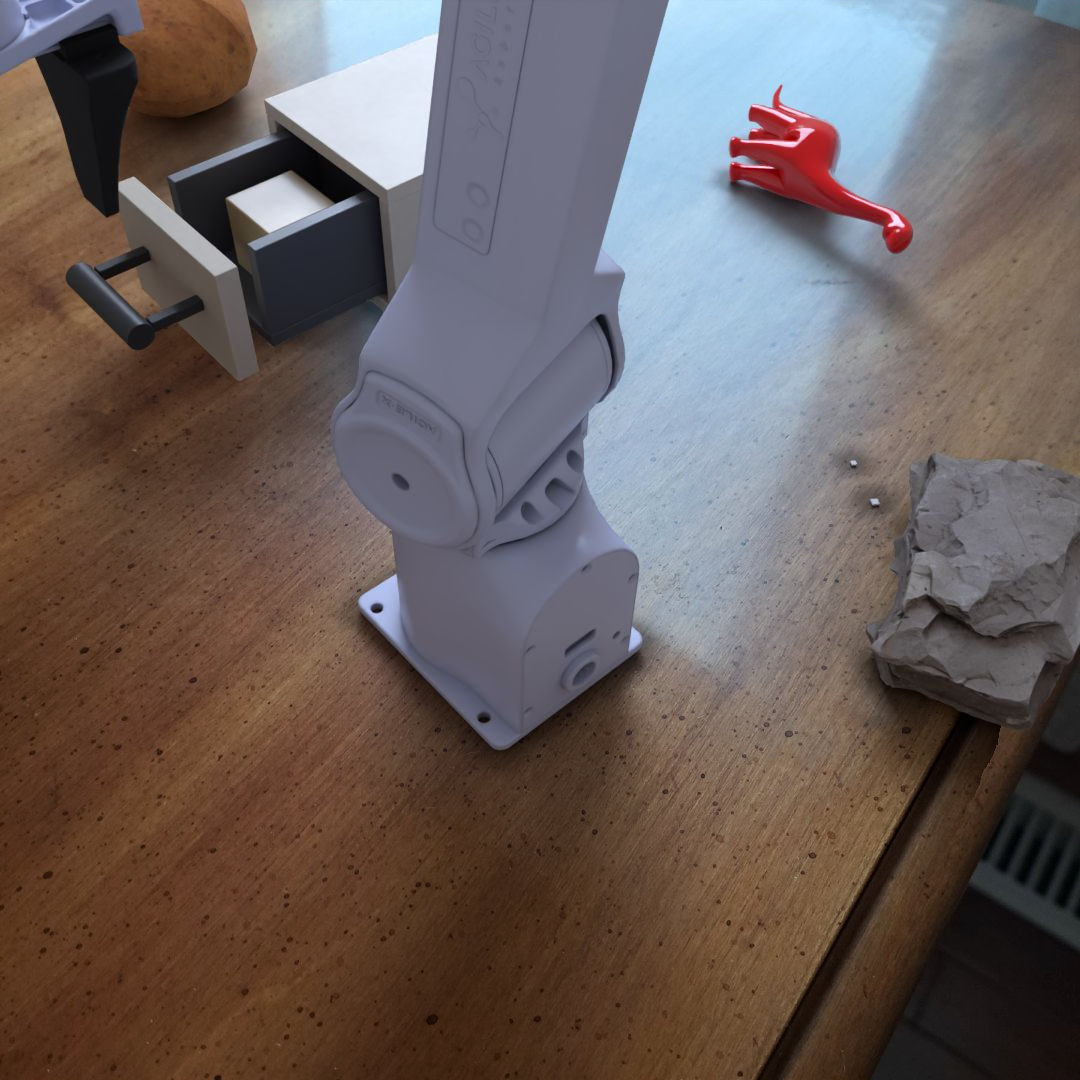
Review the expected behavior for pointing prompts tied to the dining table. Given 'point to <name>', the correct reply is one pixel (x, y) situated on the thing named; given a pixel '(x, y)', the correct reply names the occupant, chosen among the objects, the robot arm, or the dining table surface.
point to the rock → (984, 587)
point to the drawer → (211, 261)
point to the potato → (190, 55)
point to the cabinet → (372, 137)
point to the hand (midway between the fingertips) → (20, 238)
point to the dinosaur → (807, 167)
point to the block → (271, 209)
